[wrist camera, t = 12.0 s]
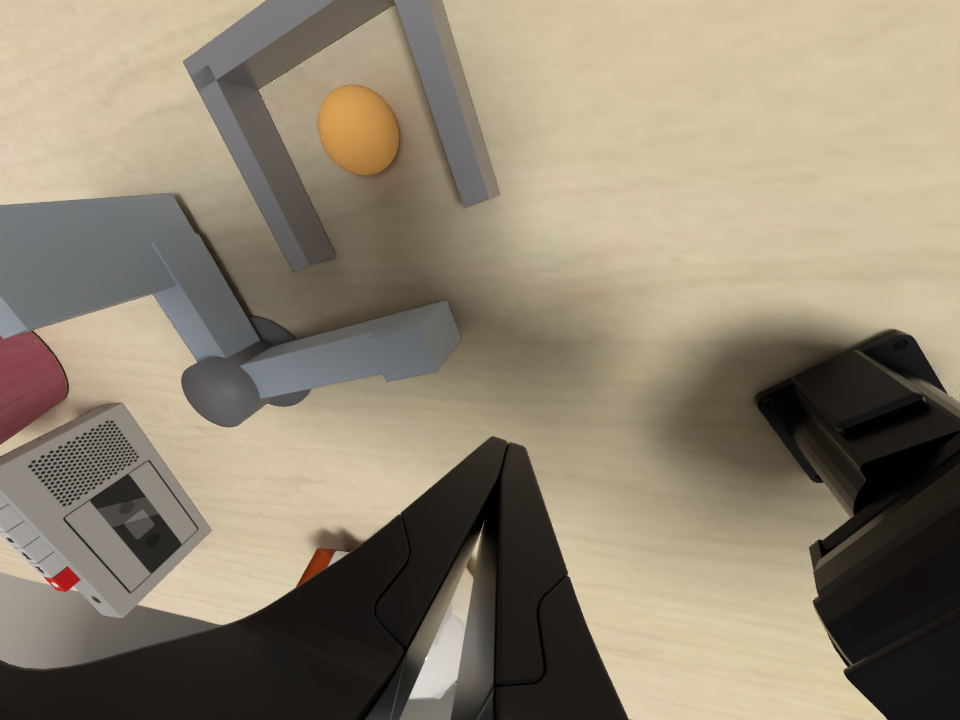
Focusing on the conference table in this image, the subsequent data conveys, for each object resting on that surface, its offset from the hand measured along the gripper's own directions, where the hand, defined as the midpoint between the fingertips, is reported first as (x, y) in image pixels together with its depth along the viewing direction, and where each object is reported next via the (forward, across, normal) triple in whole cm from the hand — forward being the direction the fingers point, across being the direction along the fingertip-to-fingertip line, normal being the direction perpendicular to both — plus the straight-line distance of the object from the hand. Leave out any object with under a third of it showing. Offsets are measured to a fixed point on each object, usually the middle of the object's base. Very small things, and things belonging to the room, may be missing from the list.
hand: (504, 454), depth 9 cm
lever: (+12, +14, +3) cm, 19 cm away
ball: (+11, +10, -5) cm, 16 cm away
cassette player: (+13, +30, +28) cm, 43 cm away
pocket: (+13, +11, -5) cm, 18 cm away
